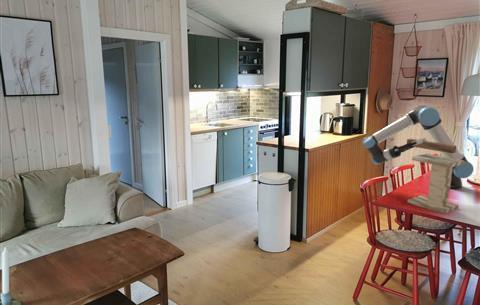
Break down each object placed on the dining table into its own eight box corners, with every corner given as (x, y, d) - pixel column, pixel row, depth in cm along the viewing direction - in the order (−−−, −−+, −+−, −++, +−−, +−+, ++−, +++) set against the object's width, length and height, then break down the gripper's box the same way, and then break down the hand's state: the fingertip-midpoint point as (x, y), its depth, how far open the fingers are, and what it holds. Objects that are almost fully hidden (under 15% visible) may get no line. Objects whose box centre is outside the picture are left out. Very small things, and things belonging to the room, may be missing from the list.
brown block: (410, 144, 232) (410, 138, 231) (455, 152, 209) (456, 145, 208) (406, 145, 230) (407, 139, 229) (451, 153, 207) (452, 146, 206)
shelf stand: (421, 197, 232) (427, 153, 225) (457, 208, 214) (464, 160, 208) (407, 202, 223) (412, 156, 217) (443, 213, 205) (450, 163, 199)
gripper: (402, 156, 244) (433, 144, 226) (386, 159, 235) (418, 147, 216) (398, 146, 246) (429, 133, 227) (382, 149, 237) (413, 135, 218)
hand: (423, 140), depth 222 cm, fingers closed on brown block, 4 cm apart
